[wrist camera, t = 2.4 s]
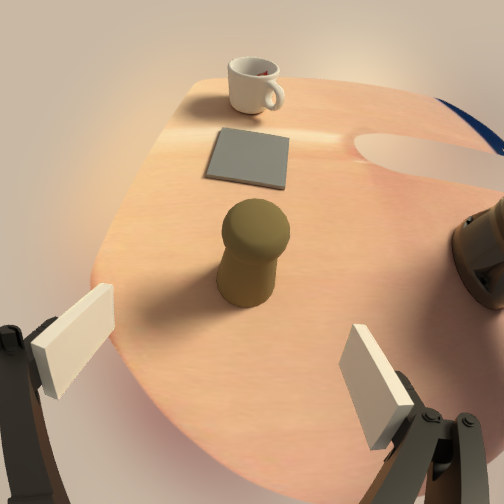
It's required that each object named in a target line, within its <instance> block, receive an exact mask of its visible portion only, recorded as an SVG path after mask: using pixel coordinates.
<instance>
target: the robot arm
mask: <svg viewBox="0 0 504 504" xmlns="http://www.w3.org/2000/svg"><path fill="white" fill-rule="evenodd" d="M452 247H453V255H454V260H455V263H456V266H457V269H458V272H459V274H460V276H461V278H462V280H463V282H464V284H465V286H466V287H467V289H468V290H469V292H470V293H471V294H472V295H473V297H474V298H475V299H476V300H477V301H478V302H479V303H481V304H482V305H483V306H485V307H487V308H489V309H493V310H499V309H502V308H503V307H504V197H503V198H502V199H501V200H500V201H499V202H498V203H497V204H496V205H495V206H493V207H491V208H489V209H486V210H484V211H482V212H479V213H477V214H475V215H472V216H470V217H468V218H467V219H465V220H464V221H463V222H462V223H461V224H460V225H459V226H458V227H457V229H456V230H455V232H454V235H453V242H452ZM114 329H115V324H114V298H113V285H111V284H106V283H102V282H101V283H100V284H99V285H98V286H96V287H95V288H94V289H93V290H91V291H90V292H89V293H88V294H86V295H85V296H84V297H83V298H82V299H80V300H79V301H78V302H77V303H76V304H74V305H73V306H72V307H71V308H70V309H69V310H67V311H66V312H65V313H64V314H63V315H61V316H60V317H59V318H58V317H53V318H50V319H48V320H46V321H45V322H44V323H43V324H41V326H39V327H38V328H37V329H36V331H33V332H32V333H31V334H30V335H29V336H27V337H26V338H25V339H24V340H23V336H22V332H21V330H20V328H19V327H18V326H15V325H5V326H2V327H0V431H1V440H2V448H3V455H4V461H5V467H6V471H7V476H8V482H9V486H10V490H11V498H8V504H70V501H69V499H68V496H67V494H66V491H65V488H64V486H63V483H62V480H61V477H60V474H59V471H58V468H57V465H56V462H55V459H54V456H53V452H52V448H51V445H50V441H49V437H48V434H47V429H46V426H45V421H44V417H43V412H42V407H41V402H40V396H39V393H38V388H39V387H40V386H41V385H42V387H43V390H44V393H45V395H48V396H50V397H52V398H54V399H57V400H59V399H60V398H61V396H62V395H63V394H64V392H65V391H66V390H67V388H68V387H69V386H70V384H71V383H72V382H73V380H74V379H75V378H76V377H77V375H78V374H79V373H80V371H81V370H82V369H83V367H84V366H85V365H86V364H87V362H88V361H89V360H90V358H91V357H92V356H93V355H94V353H95V352H96V351H97V350H98V348H99V347H100V346H101V345H102V343H103V342H104V341H105V340H106V338H107V337H108V336H109V335H110V333H111V332H112V331H113V330H114ZM339 366H340V369H341V371H342V374H343V377H344V379H345V382H346V385H347V387H348V390H349V393H350V395H351V398H352V401H353V403H354V406H355V409H356V412H357V414H358V417H359V420H360V423H361V426H362V428H363V431H364V434H365V437H366V440H367V442H368V445H369V448H370V450H380V449H386V447H387V446H388V445H389V443H390V442H391V440H392V442H393V444H394V448H393V449H392V450H391V452H390V453H389V454H388V456H387V457H386V458H385V460H384V462H385V463H384V464H383V466H382V468H381V470H380V471H379V473H378V475H377V476H376V478H375V480H374V481H373V483H372V484H371V486H370V488H369V489H368V491H367V492H366V494H365V495H364V497H363V498H362V500H361V501H360V503H359V504H414V502H415V500H416V498H417V495H418V493H419V491H420V488H421V486H422V483H423V481H424V478H425V476H426V473H427V482H426V492H425V501H424V504H490V503H489V485H488V474H487V465H486V457H485V450H484V443H483V437H482V432H481V426H480V423H479V420H478V419H477V418H476V417H475V416H473V415H472V414H469V413H461V414H459V415H458V417H457V418H456V419H455V421H452V420H444V419H443V418H442V416H441V414H440V413H439V412H438V411H436V410H434V409H432V408H428V407H427V408H426V407H425V406H424V404H423V402H422V401H421V399H420V398H419V396H418V394H417V393H416V391H414V388H413V386H412V385H411V383H410V382H409V380H408V378H407V377H406V376H405V375H404V374H402V373H401V372H400V371H394V370H393V368H392V366H391V365H390V363H389V361H388V360H387V358H386V357H385V355H384V353H383V352H382V350H381V349H380V347H379V345H378V344H377V342H376V341H375V339H374V338H373V336H372V334H371V333H370V331H369V330H368V328H367V327H366V325H362V324H353V325H352V328H351V331H350V334H349V337H348V340H347V343H346V345H345V348H344V351H343V354H342V357H341V359H340V362H339Z"/></svg>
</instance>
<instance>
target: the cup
mask: <svg viewBox="0 0 504 504" xmlns="http://www.w3.org/2000/svg"><path fill="white" fill-rule="evenodd" d="M279 72H280V69H279V67H278V66H277V65H276V64H275V63H274V62H272V61H270V60H267V59H264V58H259V57H240V58H236V59H234V60H232V61H230V62H229V64H228V82H229V98H230V103H231V105H232V106H233V107H234V108H235V109H236V110H238V111H240V112H243V113H247V114H256V113H260V112H263V111H264V110H266V109H269V110H271V111H276V110H279V109H280V108H281V107H282V105H283V103H284V98H285V95H284V91H283V89H282V87H281V86H280V85H279V84H277V83H276V82H277V79H278V76H279ZM273 92H275V94H276V104H275V105H274V104H273V103H272V100H271V99H272V95H273Z"/></svg>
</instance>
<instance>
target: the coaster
mask: <svg viewBox="0 0 504 504" xmlns="http://www.w3.org/2000/svg"><path fill="white" fill-rule="evenodd" d="M288 148H289V138H286V137H281V136H275V135H270V134H264V133H258V132H251V131H245V130H238V129H231V128H223V127H222V130H221V133H220V135H219V138H218V141H217V144H216V147H215V150H214V153H213V156H212V159H211V162H210V165H209V168H208V171H207V174H206V177H208V178H215V179H221V180H228V181H235V182H241V183H247V184H253V185H259V186H265V187H271V188H276V189H282V190H284V189H285V184H286V172H287V160H288Z"/></svg>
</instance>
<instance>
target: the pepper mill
mask: <svg viewBox="0 0 504 504" xmlns="http://www.w3.org/2000/svg"><path fill="white" fill-rule="evenodd" d="M222 238H223V242H224V245H225V247H226V248H225V251H224V254H223V257H222V261H221V264H220V267H219V270H218V274H217V285H218V290H219V291H220V293H221V295H222V296H223V297H224V298H225V299H226V300H227V301H228V302H229V303H231V304H233V305H236V306H238V307H246V308H250V307H255V306H258V305H260V304H262V303H263V302H265V301H266V300H267V299H268V298H269V297H270V296H271V294H272V292H273V289H274V286H275V276H276V266H277V258H278V257H279V256H280V255H281V254H282V253H283V252H284V250H285V248H286V246H287V244H288V241H289V238H290V225H289V222H288V220H287V217H286V216H285V214H284V213H283V212H282V211H281V209H280V208H279V207H278V206H276V205H275V204H273V203H272V202H269V201H266V200H263V199H248V200H244V201H242V202H240V203H238V204H236V205H235V206H234V207H232V208H231V209H230V210H229V211H228V213H227V215H226V217H225V219H224V221H223V225H222Z"/></svg>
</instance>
